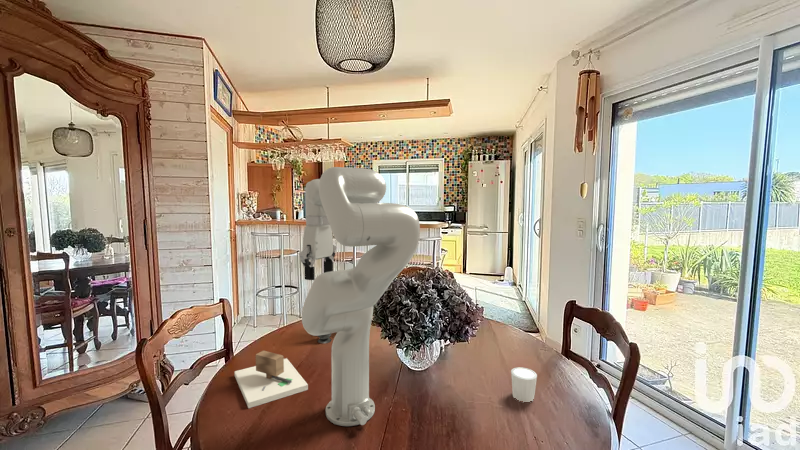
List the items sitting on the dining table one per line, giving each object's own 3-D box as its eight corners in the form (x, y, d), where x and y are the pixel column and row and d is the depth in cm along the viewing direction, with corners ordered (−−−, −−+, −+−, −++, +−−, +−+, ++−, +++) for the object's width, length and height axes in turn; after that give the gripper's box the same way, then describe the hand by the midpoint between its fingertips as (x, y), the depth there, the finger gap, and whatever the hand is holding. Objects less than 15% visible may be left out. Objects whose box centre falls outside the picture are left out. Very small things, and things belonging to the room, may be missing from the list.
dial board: (307, 389, 100) (307, 384, 100) (248, 408, 91) (248, 402, 91) (286, 362, 116) (286, 357, 116) (234, 376, 107) (234, 370, 107)
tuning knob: (256, 376, 104) (255, 354, 103) (263, 371, 106) (263, 350, 106) (287, 385, 99) (286, 362, 98) (294, 380, 101) (294, 358, 101)
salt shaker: (330, 344, 131) (330, 312, 130) (314, 343, 131) (314, 312, 131) (333, 337, 137) (333, 308, 136) (318, 337, 137) (318, 307, 136)
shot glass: (519, 405, 93) (520, 380, 92) (505, 392, 100) (506, 368, 99) (541, 402, 95) (542, 377, 94) (526, 388, 101) (527, 365, 101)
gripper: (324, 220, 116) (325, 270, 117) (289, 222, 100) (291, 281, 102) (344, 220, 114) (344, 272, 115) (311, 223, 98) (312, 283, 99)
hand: (319, 276), depth 108 cm, fingers open, 9 cm apart
